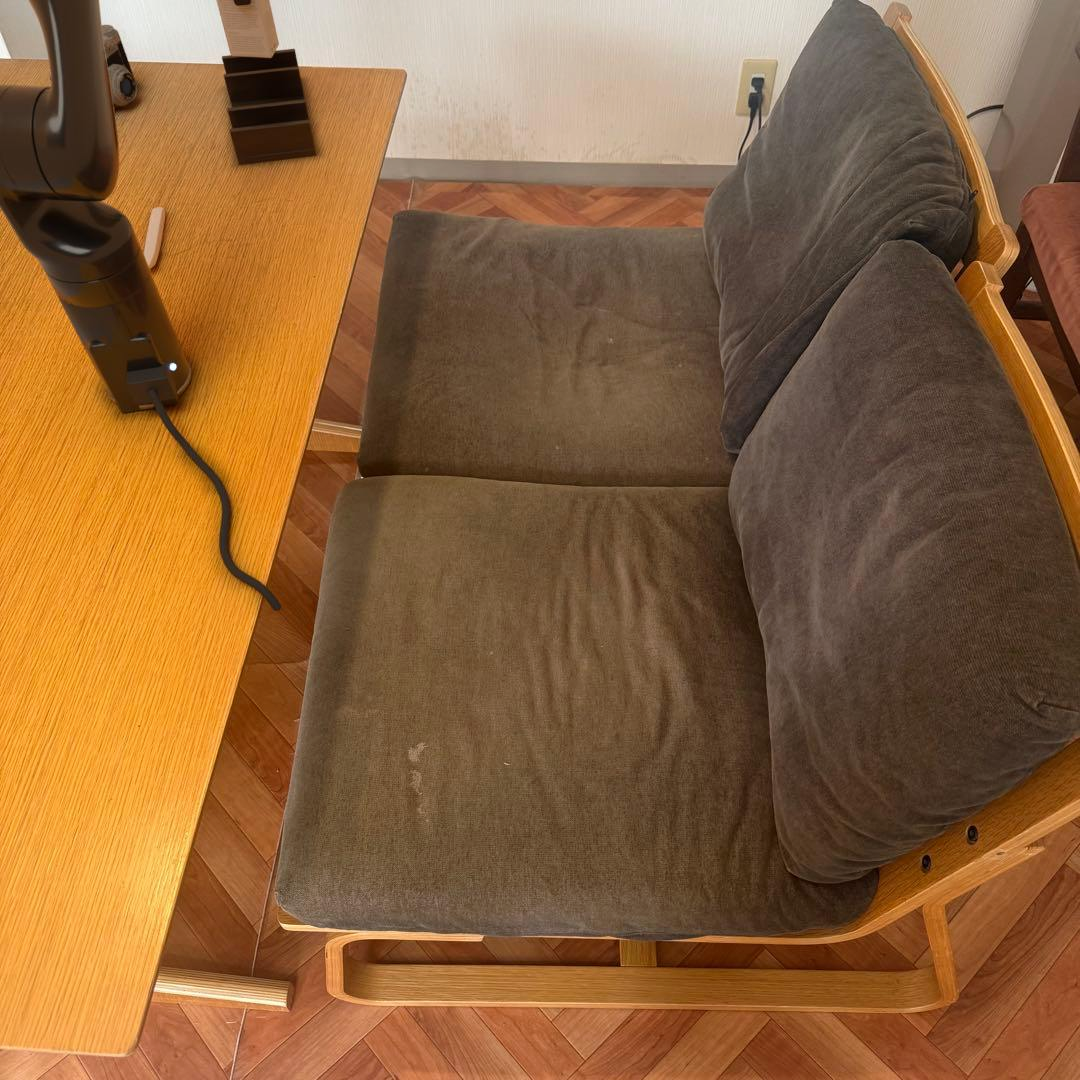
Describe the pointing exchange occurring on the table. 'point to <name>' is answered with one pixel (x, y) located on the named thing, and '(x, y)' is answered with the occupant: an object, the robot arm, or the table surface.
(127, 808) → the table surface
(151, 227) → the pen
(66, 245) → the robot arm
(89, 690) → the table surface
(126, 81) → the camera
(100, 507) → the table surface
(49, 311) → the table surface
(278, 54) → the rack
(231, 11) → the cosmetic box
